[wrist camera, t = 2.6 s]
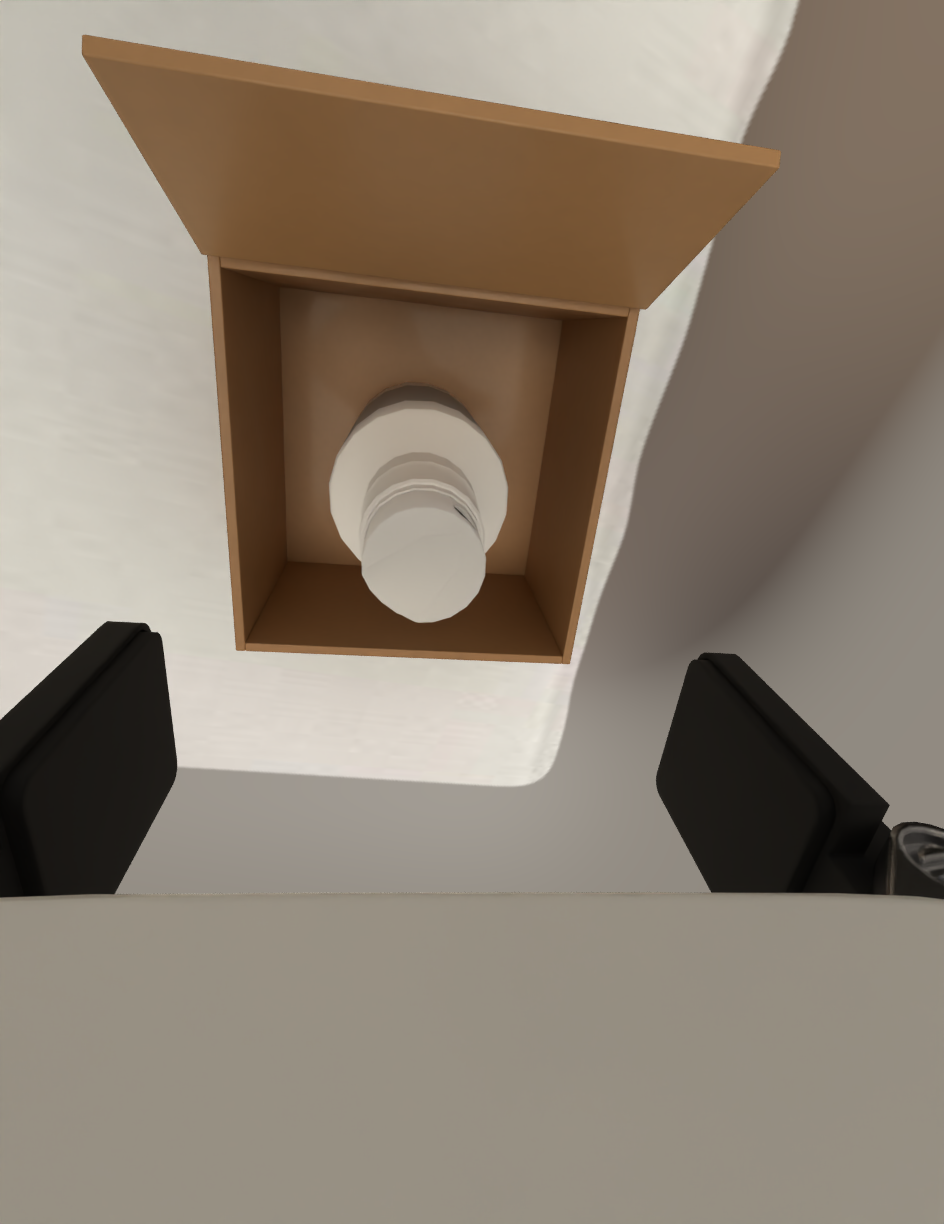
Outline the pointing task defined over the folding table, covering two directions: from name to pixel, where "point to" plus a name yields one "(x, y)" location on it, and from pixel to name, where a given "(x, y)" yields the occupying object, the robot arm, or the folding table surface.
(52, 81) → the folding table surface
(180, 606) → the folding table surface
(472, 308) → the carton
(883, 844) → the robot arm
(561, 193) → the flap
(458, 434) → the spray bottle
